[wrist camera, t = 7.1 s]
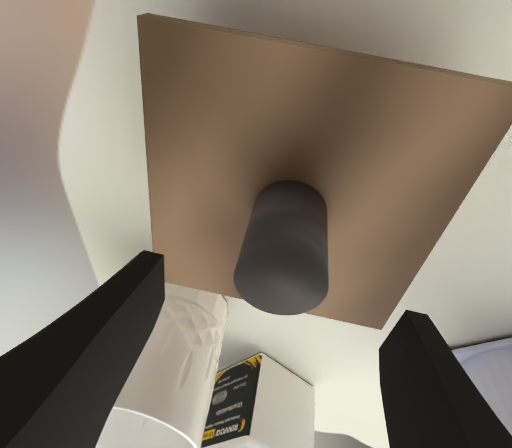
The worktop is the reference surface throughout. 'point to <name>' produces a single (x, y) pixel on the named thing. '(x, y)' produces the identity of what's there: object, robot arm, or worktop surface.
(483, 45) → the worktop surface
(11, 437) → the robot arm
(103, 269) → the worktop surface
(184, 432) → the white cup
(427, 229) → the lid
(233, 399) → the medicine bottle
